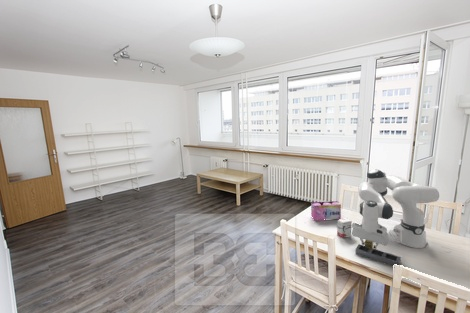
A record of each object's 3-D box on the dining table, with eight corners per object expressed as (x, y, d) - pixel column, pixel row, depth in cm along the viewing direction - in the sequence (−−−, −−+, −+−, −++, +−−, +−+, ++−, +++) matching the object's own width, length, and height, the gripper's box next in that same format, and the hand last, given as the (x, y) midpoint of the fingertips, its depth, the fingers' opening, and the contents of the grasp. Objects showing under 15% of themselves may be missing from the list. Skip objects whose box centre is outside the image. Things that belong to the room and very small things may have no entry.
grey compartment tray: (355, 254, 139) (355, 248, 139) (358, 249, 144) (358, 244, 144) (398, 268, 124) (398, 262, 123) (400, 262, 129) (400, 257, 128)
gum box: (338, 215, 194) (338, 201, 192) (342, 219, 187) (342, 204, 184) (311, 216, 195) (311, 202, 193) (313, 220, 187) (313, 205, 185)
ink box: (341, 238, 158) (342, 222, 157) (336, 234, 163) (337, 219, 161) (351, 235, 161) (352, 220, 159) (346, 232, 165) (346, 217, 164)
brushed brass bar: (364, 249, 143) (364, 241, 142) (366, 247, 146) (366, 238, 145) (371, 252, 140) (372, 243, 139) (373, 249, 143) (373, 240, 142)
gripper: (350, 223, 146) (350, 243, 148) (387, 233, 132) (386, 254, 134) (353, 220, 150) (353, 239, 152) (389, 229, 136) (388, 249, 138)
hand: (369, 246), depth 143 cm, fingers open, 5 cm apart
